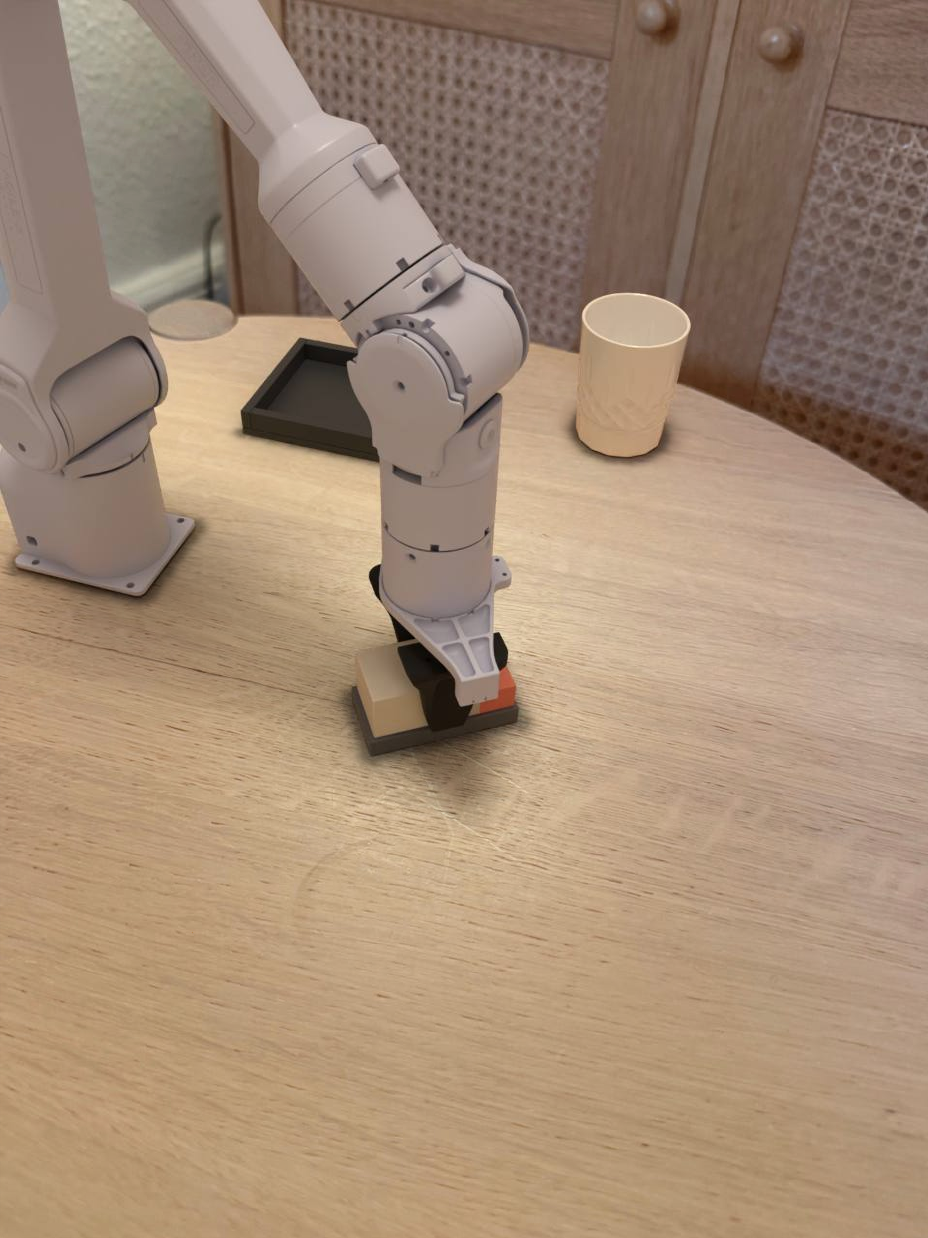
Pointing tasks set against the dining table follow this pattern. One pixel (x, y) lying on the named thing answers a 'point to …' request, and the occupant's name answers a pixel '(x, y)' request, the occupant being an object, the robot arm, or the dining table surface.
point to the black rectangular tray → (312, 402)
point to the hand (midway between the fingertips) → (434, 695)
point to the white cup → (628, 371)
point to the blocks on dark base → (413, 703)
